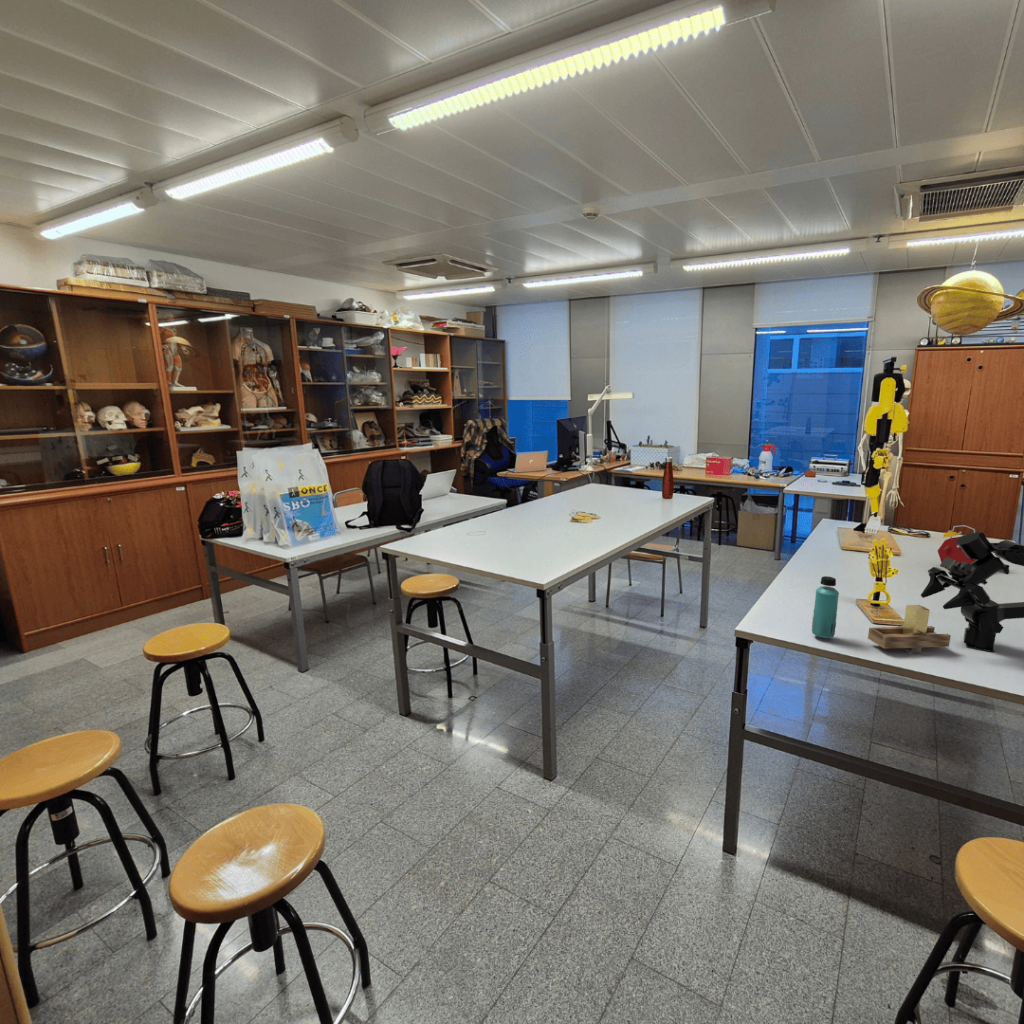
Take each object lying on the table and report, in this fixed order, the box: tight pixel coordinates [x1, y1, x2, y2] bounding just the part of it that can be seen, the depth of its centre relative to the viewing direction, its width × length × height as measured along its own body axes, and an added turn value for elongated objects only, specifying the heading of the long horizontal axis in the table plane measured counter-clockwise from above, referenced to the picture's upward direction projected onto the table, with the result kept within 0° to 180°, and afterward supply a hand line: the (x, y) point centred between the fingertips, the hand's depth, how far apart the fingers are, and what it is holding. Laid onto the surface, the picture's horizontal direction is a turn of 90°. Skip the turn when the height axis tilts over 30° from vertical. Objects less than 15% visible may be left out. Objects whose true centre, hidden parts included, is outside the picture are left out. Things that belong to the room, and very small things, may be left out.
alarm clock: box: [937, 524, 976, 564], centre depth 241 cm, size 15×9×20 cm, turn 35°
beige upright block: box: [902, 604, 931, 635], centre depth 165 cm, size 4×7×9 cm, turn 4°
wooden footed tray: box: [867, 625, 951, 655], centre depth 166 cm, size 20×7×6 cm, turn 94°
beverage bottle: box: [811, 575, 840, 639], centre depth 172 cm, size 6×7×20 cm
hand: (932, 602), depth 166 cm, fingers open, 9 cm apart
